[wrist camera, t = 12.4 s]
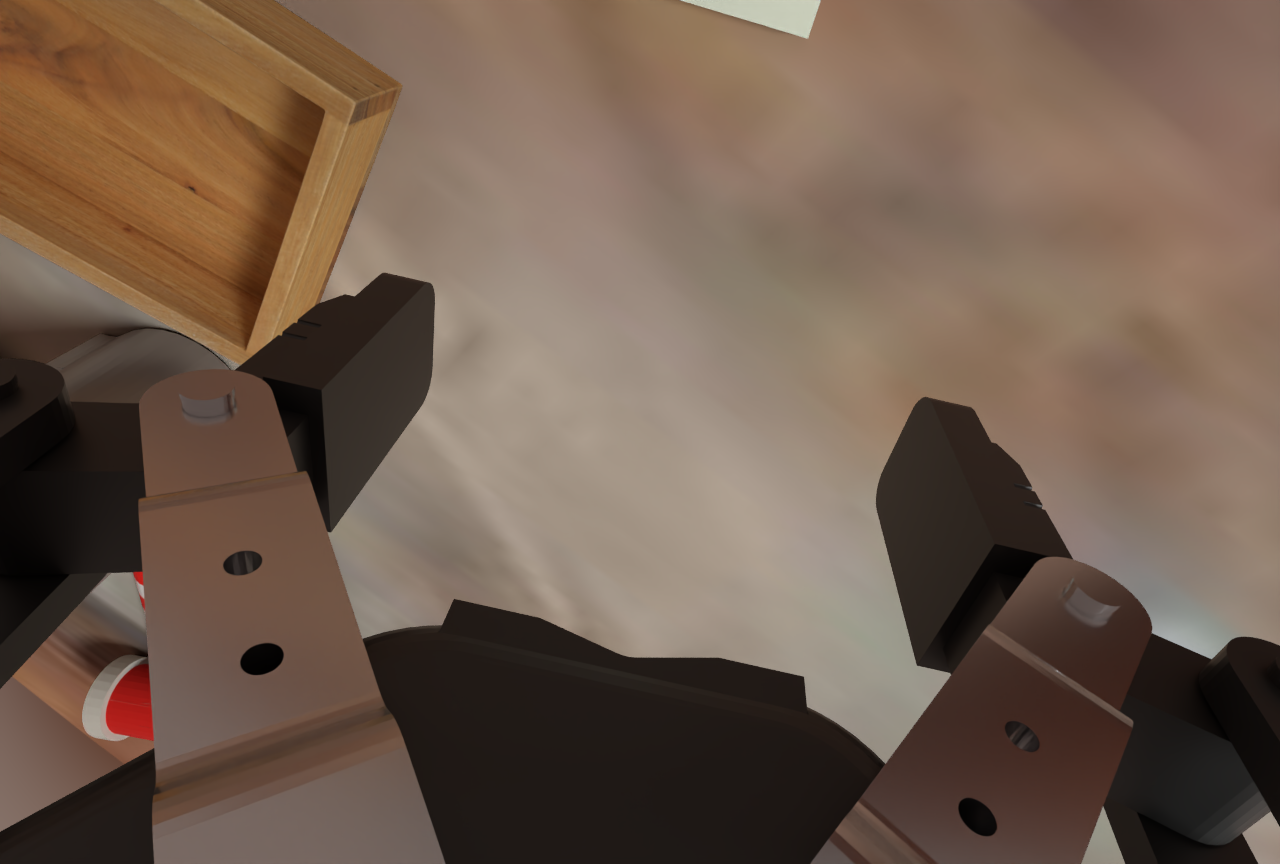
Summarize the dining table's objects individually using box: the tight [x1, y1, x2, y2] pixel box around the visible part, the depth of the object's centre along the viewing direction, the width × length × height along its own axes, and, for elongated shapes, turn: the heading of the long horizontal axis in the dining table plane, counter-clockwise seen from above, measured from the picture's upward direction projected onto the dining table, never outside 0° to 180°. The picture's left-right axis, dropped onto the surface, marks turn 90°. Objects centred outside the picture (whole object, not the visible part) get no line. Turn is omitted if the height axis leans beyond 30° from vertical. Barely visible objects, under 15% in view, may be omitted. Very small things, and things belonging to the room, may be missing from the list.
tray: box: [0, 0, 402, 365], centre depth 31 cm, size 31×15×6 cm, turn 58°
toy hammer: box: [82, 572, 154, 741], centre depth 53 cm, size 23×12×6 cm, turn 175°
